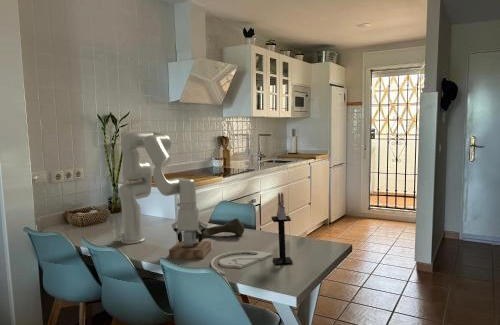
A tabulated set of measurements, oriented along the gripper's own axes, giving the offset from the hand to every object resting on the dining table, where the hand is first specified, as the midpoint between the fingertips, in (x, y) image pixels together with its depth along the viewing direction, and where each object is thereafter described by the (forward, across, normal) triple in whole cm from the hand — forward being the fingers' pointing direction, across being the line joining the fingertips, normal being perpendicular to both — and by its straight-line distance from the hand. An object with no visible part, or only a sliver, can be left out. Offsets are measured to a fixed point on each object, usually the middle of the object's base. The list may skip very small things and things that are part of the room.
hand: (190, 241), depth 185 cm
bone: (+6, +6, +31) cm, 32 cm away
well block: (+6, 0, 0) cm, 6 cm away
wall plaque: (+7, +23, -9) cm, 26 cm away
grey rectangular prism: (+5, 0, 0) cm, 5 cm away
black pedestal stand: (+6, +44, -10) cm, 46 cm away
